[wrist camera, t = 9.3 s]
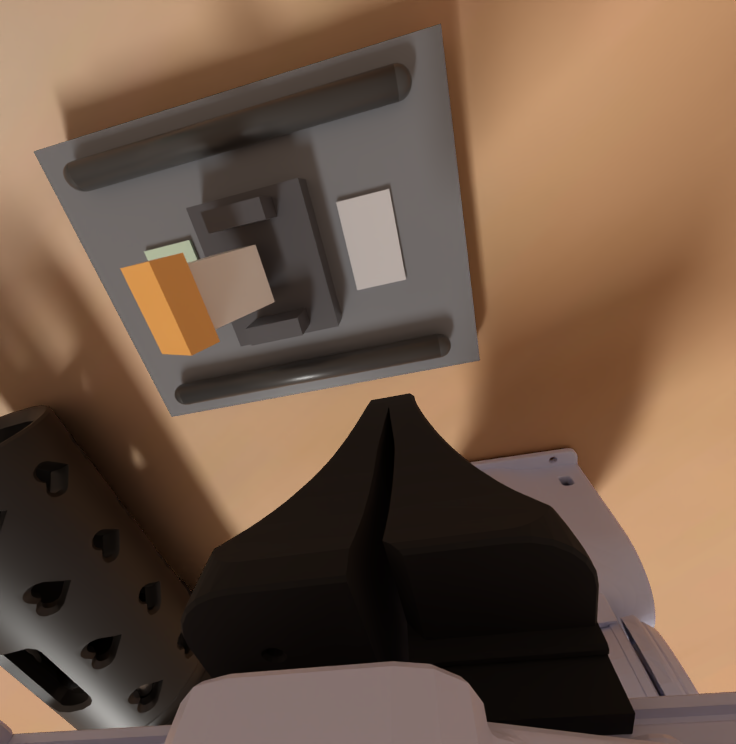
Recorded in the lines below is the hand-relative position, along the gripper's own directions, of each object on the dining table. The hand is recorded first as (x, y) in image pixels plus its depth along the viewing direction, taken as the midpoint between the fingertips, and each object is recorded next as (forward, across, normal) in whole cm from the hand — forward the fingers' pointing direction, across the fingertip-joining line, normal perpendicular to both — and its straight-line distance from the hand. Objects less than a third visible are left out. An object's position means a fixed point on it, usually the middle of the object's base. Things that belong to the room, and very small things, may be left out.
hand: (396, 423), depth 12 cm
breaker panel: (+10, +5, -4) cm, 12 cm away
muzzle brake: (+11, +23, +14) cm, 29 cm away
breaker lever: (+6, +5, -4) cm, 9 cm away
